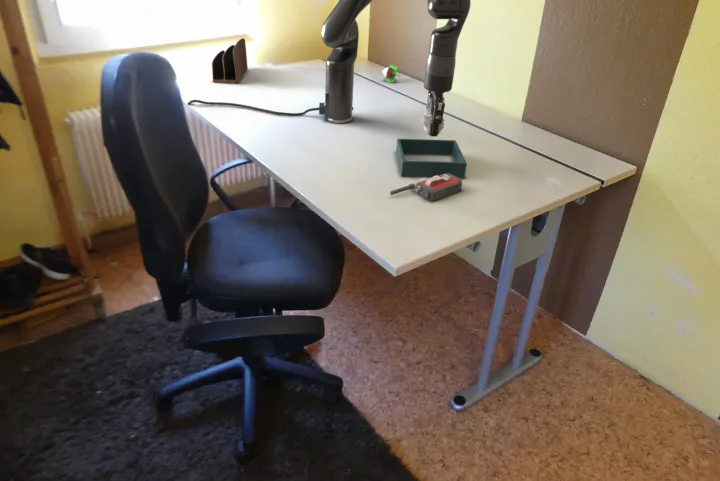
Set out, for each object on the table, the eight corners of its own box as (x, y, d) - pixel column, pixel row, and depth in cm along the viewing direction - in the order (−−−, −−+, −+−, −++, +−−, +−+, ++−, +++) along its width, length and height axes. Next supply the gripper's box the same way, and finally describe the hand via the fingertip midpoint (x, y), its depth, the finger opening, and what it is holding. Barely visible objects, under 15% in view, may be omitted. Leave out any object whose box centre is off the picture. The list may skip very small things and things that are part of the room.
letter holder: (248, 70, 232) (245, 35, 225) (237, 84, 215) (235, 47, 208) (224, 69, 232) (221, 34, 225) (212, 82, 215) (209, 45, 208)
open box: (401, 176, 151) (402, 161, 148) (395, 152, 165) (397, 138, 162) (464, 178, 152) (466, 163, 149) (453, 154, 166) (455, 140, 163)
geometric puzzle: (391, 72, 232) (386, 58, 226) (405, 75, 229) (400, 61, 222) (383, 85, 231) (377, 72, 224) (396, 88, 227) (391, 75, 221)
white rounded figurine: (414, 132, 155) (417, 108, 151) (436, 130, 157) (439, 106, 153) (425, 140, 150) (428, 116, 146) (447, 138, 153) (450, 114, 149)
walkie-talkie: (442, 178, 151) (387, 196, 140) (444, 163, 149) (388, 180, 138) (465, 190, 146) (410, 210, 135) (468, 175, 143) (412, 194, 132)
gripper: (422, 63, 150) (415, 121, 159) (429, 78, 138) (421, 140, 147) (449, 64, 150) (440, 122, 159) (458, 79, 138) (449, 142, 147)
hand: (431, 131), depth 153 cm, fingers closed on white rounded figurine, 6 cm apart
